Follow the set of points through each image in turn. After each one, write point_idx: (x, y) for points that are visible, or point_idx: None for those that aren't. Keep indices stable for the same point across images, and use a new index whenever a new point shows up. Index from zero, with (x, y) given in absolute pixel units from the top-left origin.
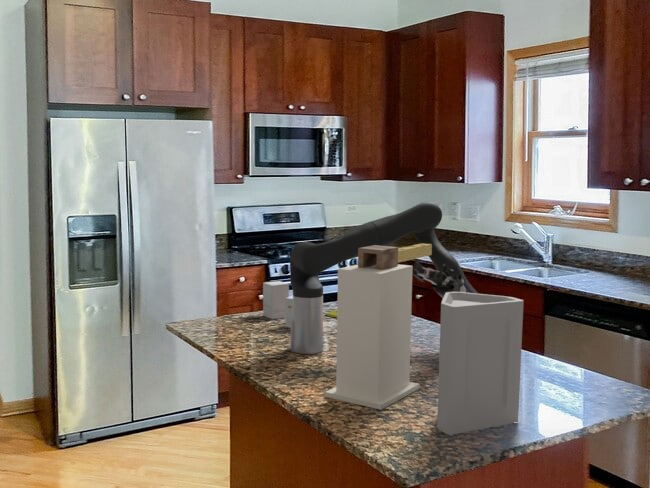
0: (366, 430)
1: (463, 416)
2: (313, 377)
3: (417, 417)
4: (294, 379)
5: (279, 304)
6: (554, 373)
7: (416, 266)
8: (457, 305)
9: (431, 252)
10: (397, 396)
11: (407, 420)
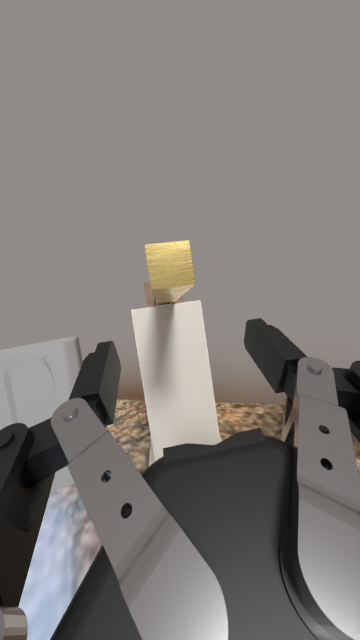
0: (142, 409)
1: None
2: (273, 437)
3: (116, 439)
4: (274, 423)
5: None
6: None
7: (245, 338)
8: (63, 338)
9: (150, 279)
10: (150, 447)
11: (122, 432)
